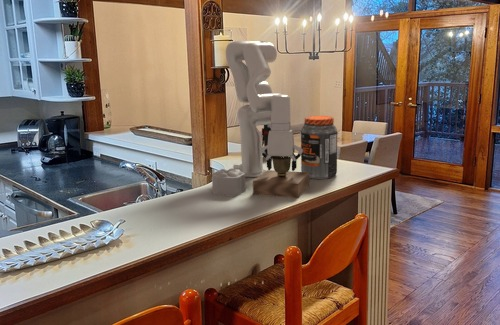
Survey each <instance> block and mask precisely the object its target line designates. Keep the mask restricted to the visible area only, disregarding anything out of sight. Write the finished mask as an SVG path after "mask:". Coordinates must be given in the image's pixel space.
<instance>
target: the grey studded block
mask: <svg viewBox="0 0 500 325" xmlns="http://www.w3.org/2000/svg"><path fill="white" fill-rule="evenodd" d="M211 178H212V179H211V181H212V193H214V195H219V196H227V197H231V196H232V197H233V196H234V197H235V196H240V195H242V194H243V193H244V192H246V188H247V187H246V177H245V173H243V172H241V171H240V170H239V169H237V170H236V169H234V168H233V167H232V168H229V169H228V170H227V169H224V168H221V169H219V170H217V171H215V172H213V173H212V174H211Z"/></svg>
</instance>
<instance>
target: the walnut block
mask: <svg viewBox="0 0 500 325" xmlns="http://www.w3.org/2000/svg"><path fill="white" fill-rule="evenodd" d="M286 174H287V175H286V176H285V177H278V175H277V172H276V171H275V170H272V169H270V170H268V169H267V170H266V171H265V172H264V173H263V174H261V175H260V176H259V177H255V179H253V180H252V194H253V195H254V196H255V195H256V196H265V197H266V196H267V197H268V196H270V197H278V198H279V197H283V198H296V199H299V198H300V196H301V195H303V193H305V191H306V190H307V188H309V185H310V178H309V172H301V171H292V170H291V171H290V170H289V171H288V172H287V173H286Z"/></svg>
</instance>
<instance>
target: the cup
mask: <svg viewBox="0 0 500 325" xmlns="http://www.w3.org/2000/svg"><path fill="white" fill-rule="evenodd" d="M271 160H272V165H273V166H272V167H273V171H276V172H277V175H278V177H285V176H286V175H287V174H286V173H287V172H288V171H290V168H291V164H292V158H291V157H279V156H274V158H273V157H272V158H271Z"/></svg>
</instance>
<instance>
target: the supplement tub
mask: <svg viewBox="0 0 500 325" xmlns="http://www.w3.org/2000/svg"><path fill="white" fill-rule="evenodd" d="M334 122H335V120H334V117H333V116H329V115H311V116H306V117H304V124H303V126H302V127H301V130H300V148H301V149H303V152H302V154H301V156H300V157H301V158H300V165H301V167H300V168H301V169H300V170H301V171H300V172H309V179H314V180H315V179H316V180H326V179H331V178H334V177H335V176H336V175H337V173H338V128H337V127H336V125H334Z"/></svg>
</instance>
